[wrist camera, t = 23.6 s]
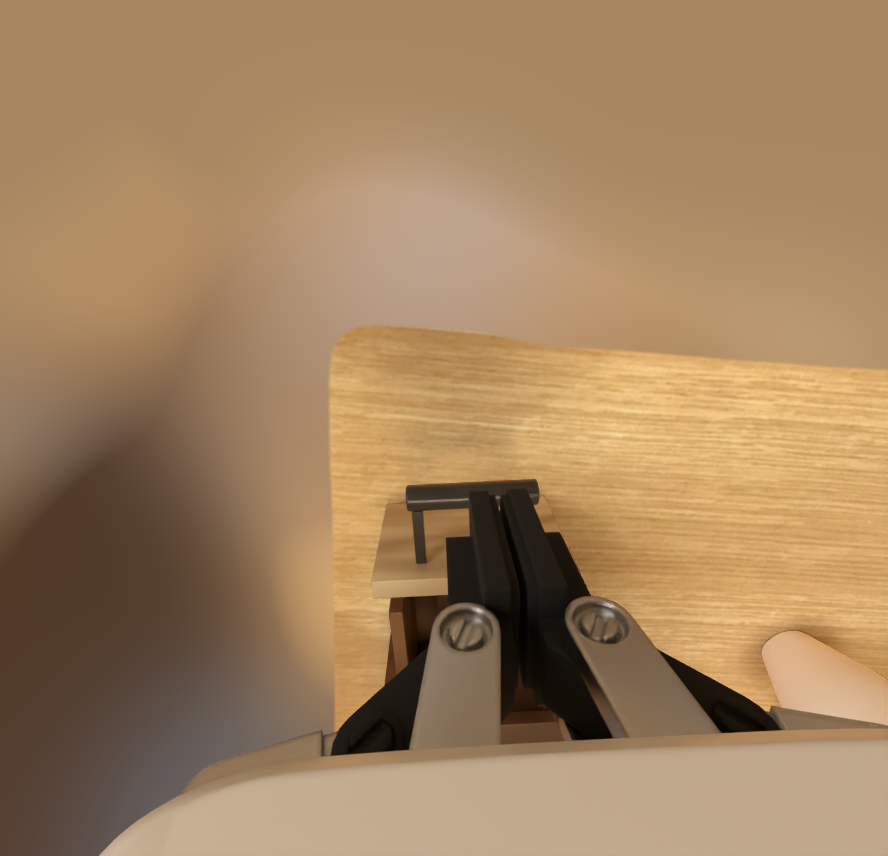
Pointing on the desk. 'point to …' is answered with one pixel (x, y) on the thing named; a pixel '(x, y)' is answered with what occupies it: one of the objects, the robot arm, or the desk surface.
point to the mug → (823, 679)
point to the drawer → (434, 560)
